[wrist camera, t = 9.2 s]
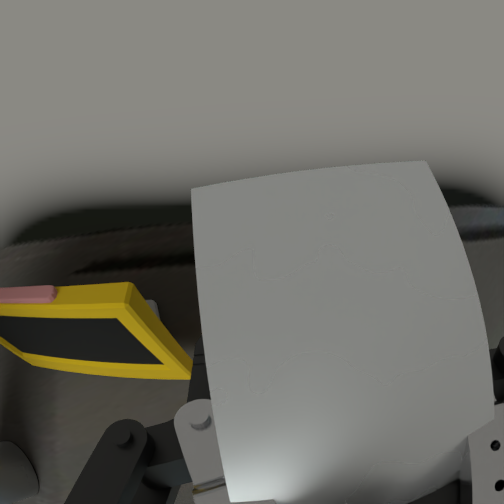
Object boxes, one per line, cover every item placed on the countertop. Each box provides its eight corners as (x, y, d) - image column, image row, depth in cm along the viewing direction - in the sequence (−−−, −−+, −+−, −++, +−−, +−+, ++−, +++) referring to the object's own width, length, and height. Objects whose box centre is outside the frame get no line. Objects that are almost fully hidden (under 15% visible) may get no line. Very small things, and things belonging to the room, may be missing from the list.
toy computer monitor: (50, 366, 26) (-52, 350, 12) (51, 305, 29) (-44, 263, 14) (204, 377, 26) (126, 392, 11) (199, 298, 28) (128, 232, 14)
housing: (267, 451, 12) (252, 582, 2) (243, 300, 15) (190, 188, 5) (364, 430, 12) (486, 505, 2) (339, 283, 14) (425, 160, 5)
